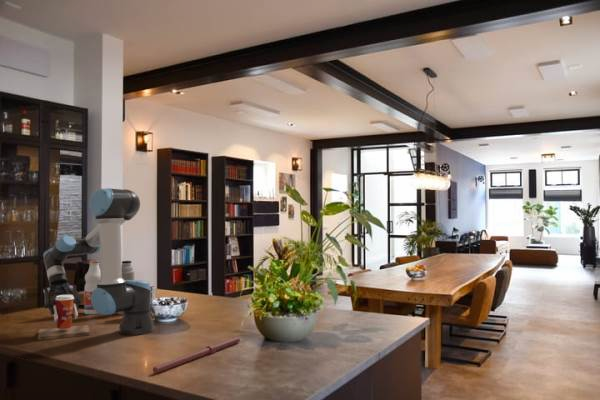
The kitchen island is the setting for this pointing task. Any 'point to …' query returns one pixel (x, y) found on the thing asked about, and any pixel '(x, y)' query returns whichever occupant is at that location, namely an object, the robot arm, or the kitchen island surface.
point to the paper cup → (64, 311)
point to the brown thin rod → (195, 355)
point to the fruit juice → (91, 286)
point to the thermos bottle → (127, 273)
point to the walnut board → (63, 332)
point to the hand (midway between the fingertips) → (66, 318)
